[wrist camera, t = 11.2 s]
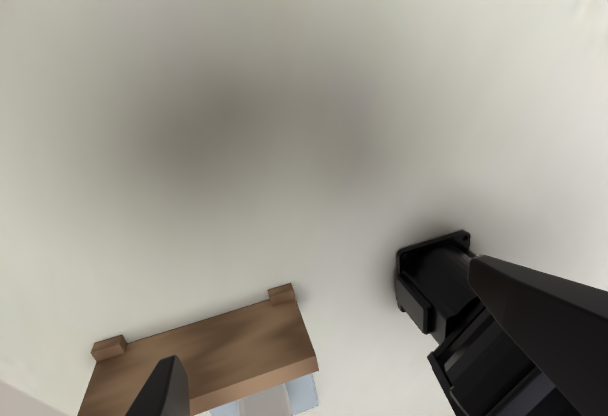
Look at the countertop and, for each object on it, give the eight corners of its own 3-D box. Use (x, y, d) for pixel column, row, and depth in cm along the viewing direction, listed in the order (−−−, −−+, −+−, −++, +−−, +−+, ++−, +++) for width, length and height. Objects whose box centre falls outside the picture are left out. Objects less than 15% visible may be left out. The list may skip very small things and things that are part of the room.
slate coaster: (302, 334, 27) (304, 340, 26) (316, 399, 31) (318, 405, 30) (193, 371, 25) (193, 378, 25) (224, 434, 30) (224, 441, 29)
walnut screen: (290, 283, 24) (313, 345, 19) (297, 314, 26) (320, 379, 21) (94, 343, 22) (59, 433, 17) (114, 373, 23) (87, 464, 18)
